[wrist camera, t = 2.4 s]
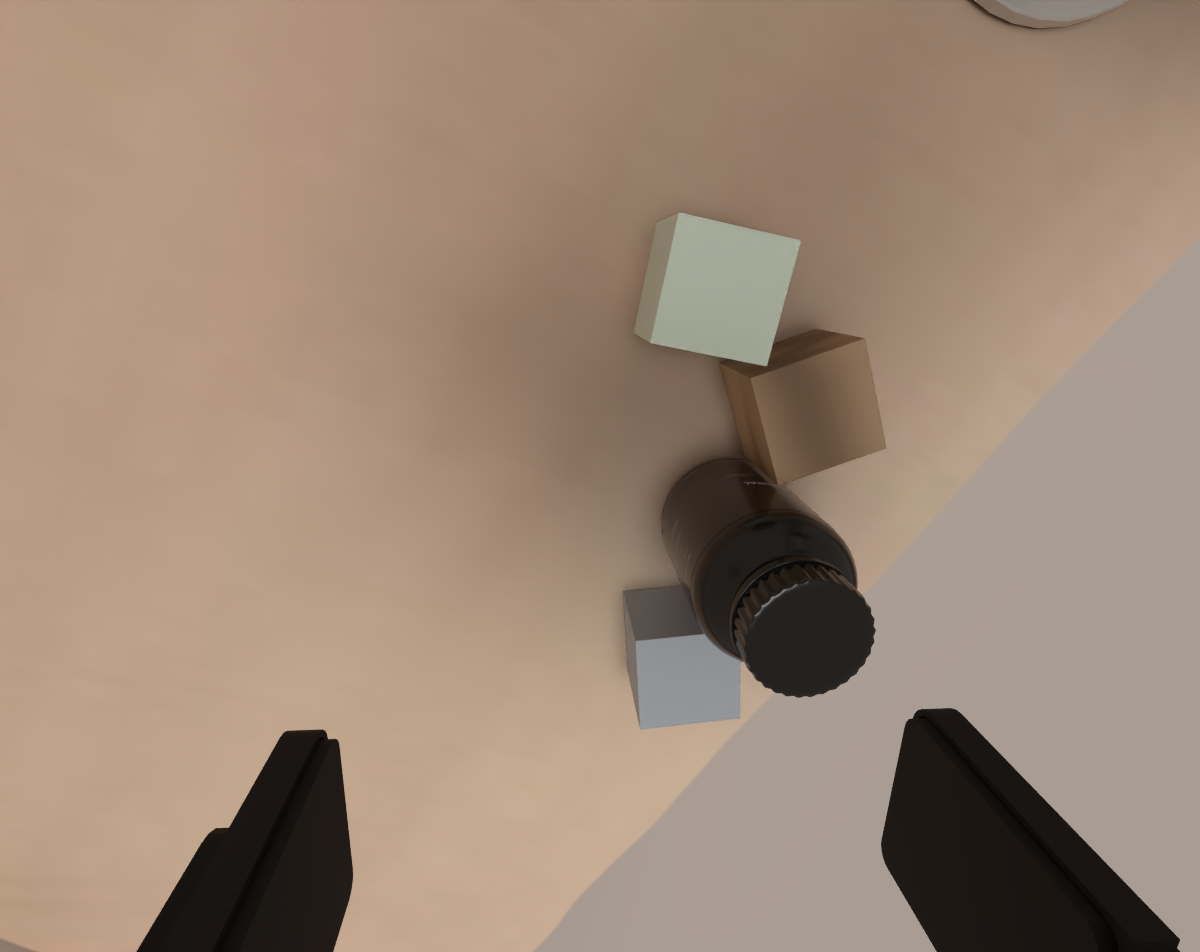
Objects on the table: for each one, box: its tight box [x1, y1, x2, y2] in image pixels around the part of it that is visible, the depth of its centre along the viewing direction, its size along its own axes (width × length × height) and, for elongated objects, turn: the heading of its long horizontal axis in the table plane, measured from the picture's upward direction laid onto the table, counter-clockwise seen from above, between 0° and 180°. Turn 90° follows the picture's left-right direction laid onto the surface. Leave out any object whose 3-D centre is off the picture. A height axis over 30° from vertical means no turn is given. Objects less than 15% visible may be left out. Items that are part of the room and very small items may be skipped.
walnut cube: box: [719, 329, 886, 485], centre depth 30 cm, size 5×5×5 cm
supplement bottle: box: [662, 460, 876, 698], centre depth 28 cm, size 7×7×12 cm
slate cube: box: [623, 585, 740, 729], centre depth 33 cm, size 5×5×5 cm
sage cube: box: [633, 212, 801, 366], centre depth 28 cm, size 5×5×5 cm
